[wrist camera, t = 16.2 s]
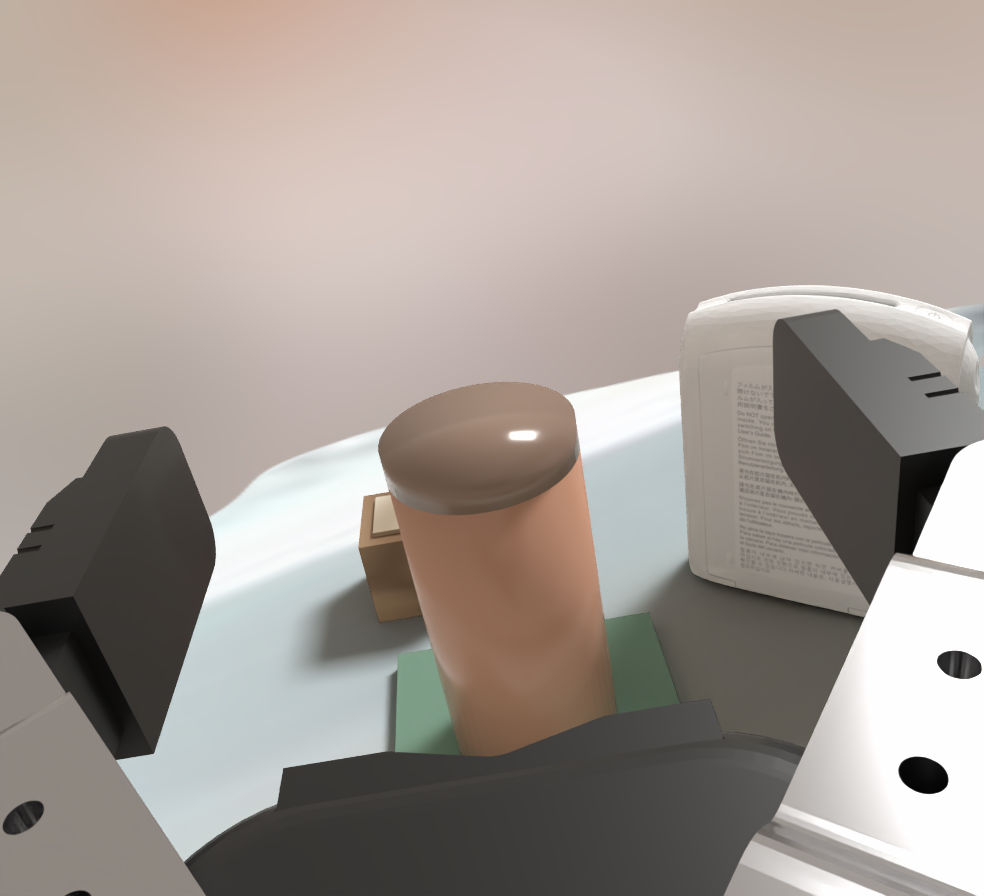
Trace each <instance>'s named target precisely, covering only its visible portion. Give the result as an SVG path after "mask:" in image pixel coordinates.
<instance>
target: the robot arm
mask: <svg viewBox="0 0 984 896" xmlns="http://www.w3.org/2000/svg"><path fill="white" fill-rule="evenodd" d="M773 403H774V434H775V441H776V446H777V450H778V454H779V457H780V460H781V463H782V466H783V468H784V470H785V472H786V473H787V475H788V477H789V478H790V480H791V481H792V483H793V484H794V486H795V488H796V489H797V491H798V492H799V494H800V496H801V497H802V499H803V500H804V502H805V504H806V505H807V507H808V508H809V510H810V511H811V513H812V515H813V516H814V518H815V519H816V521H817V523H818V524H819V526H820V527H821V529H822V531H823V532H824V534H825V535H826V537H827V538H828V540H829V542H830V543H831V545H832V546H833V548H834V550H835V551H836V553H837V554H838V556H839V558H840V559H841V561H842V562H843V564H844V565H845V567H846V569H847V570H848V572H849V573H850V575H851V577H852V578H853V580H854V581H855V583H856V585H857V586H858V588H859V589H860V591H861V592H862V594H863V596H864V597H865V599H866V600H867V602H868V604H869V605H870V607H869V609H868V612H867V614H866V616H865V618H864V621H863V623H862V625H861V627H860V629H859V632H858V634H857V636H856V638H855V641H854V643H853V645H852V647H851V649H850V652H849V654H848V656H847V658H846V661H845V663H844V665H843V667H842V669H841V672H840V674H839V676H838V678H837V681H836V683H835V685H834V687H833V689H832V692H831V694H830V696H829V698H828V701H827V703H826V705H825V707H824V709H823V712H822V714H821V716H820V718H819V721H818V723H817V725H816V727H815V729H814V732H813V734H812V736H811V738H810V741H809V743H808V745H807V747H806V748H803V747H800V746H798V745H795V744H792V743H788V742H784V741H780V740H776V739H772V738H768V737H764V736H758V735H752V734H745V733H739V732H723V731H721V729H720V726H719V723H718V720H717V717H716V714H715V712H714V709H713V706H712V703H711V700H710V699H704V700H698V701H692V702H686V703H680V704H674V705H668V706H662V707H656V708H650V709H643V710H637V711H631V712H625V713H619V714H613V715H607V716H603V717H600V718H597V719H595V720H592V721H590V722H587V723H584V724H582V725H579V726H577V727H574V728H571V729H569V730H566V731H564V732H561V733H558V734H556V735H553V736H551V737H548V738H545V739H543V740H540V741H537V742H535V743H532V744H530V745H527V746H524V747H522V748H519V749H517V750H514V751H511V752H509V753H506V754H503V755H498V756H486V757H485V756H465V755H446V754H426V753H407V752H381V753H375V754H368V755H362V756H356V757H350V758H344V759H338V760H332V761H326V762H320V763H313V764H307V765H301V766H295V767H289V768H283V774H282V780H281V786H280V792H279V798H278V804H277V805H274V806H272V807H269V808H267V809H264V810H262V811H260V812H258V813H256V814H254V815H252V816H250V817H248V818H246V819H244V820H242V821H240V822H239V823H237V824H235V825H234V826H232V827H231V828H229V829H227V830H226V831H224V832H222V833H221V834H219V835H218V836H216V837H215V838H214V839H212V840H211V841H210V842H208V843H207V844H205V845H204V846H203V847H201V848H200V849H199V850H197V851H196V852H195V853H194V854H193V855H191V856H190V857H189V858H188V859H187V860H186V861H185V862H183V860H182V859H181V857H180V856H179V854H178V853H177V851H176V850H175V848H174V847H173V845H172V844H171V842H170V841H169V839H168V838H167V836H166V835H165V833H164V832H163V830H162V829H161V827H160V826H159V824H158V823H157V821H156V820H155V818H154V817H153V815H152V814H151V812H150V811H149V809H148V808H147V806H146V805H145V803H144V802H143V800H142V799H141V797H140V796H139V794H138V793H137V791H136V790H135V788H134V787H133V785H132V784H131V782H130V781H129V779H128V778H127V776H126V775H125V773H124V772H123V770H122V769H121V767H120V766H119V764H118V763H117V761H116V760H119V759H125V758H131V757H137V756H143V755H149V754H154V752H155V749H156V746H157V742H158V739H159V736H160V733H161V730H162V727H163V724H164V721H165V718H166V715H167V712H168V709H169V705H170V702H171V699H172V696H173V693H174V690H175V687H176V684H177V681H178V678H179V675H180V672H181V668H182V665H183V662H184V659H185V656H186V653H187V650H188V647H189V644H190V641H191V638H192V634H193V631H194V628H195V625H196V622H197V619H198V616H199V613H200V610H201V607H202V604H203V601H204V597H205V594H206V591H207V588H208V585H209V582H210V579H211V576H212V573H213V570H214V566H215V558H216V548H215V538H214V533H213V529H212V525H211V522H210V519H209V517H208V514H207V511H206V509H205V506H204V504H203V502H202V499H201V496H200V494H199V491H198V489H197V486H196V484H195V481H194V479H193V476H192V473H191V471H190V468H189V466H188V463H187V461H186V458H185V456H184V453H183V451H182V448H181V446H180V443H179V441H178V439H177V437H176V436H175V434H174V433H173V431H172V430H171V429H169V428H168V427H165V426H164V427H159V428H154V429H147V430H142V431H136V432H131V433H125V434H119V435H114V436H109V437H108V438H107V439H106V440H105V442H104V443H103V445H102V446H101V448H100V450H99V452H98V453H97V455H96V456H95V458H94V460H93V461H92V463H91V465H90V466H89V468H88V470H87V471H86V473H85V475H84V476H83V477H82V478H77V479H75V480H74V481H72V482H71V483H70V484H69V485H68V486H67V487H65V488H64V489H63V490H62V491H61V492H60V493H58V494H57V495H56V496H55V497H54V498H52V499H51V500H50V501H49V502H47V503H46V505H45V507H44V508H43V510H42V511H41V513H40V514H39V516H38V517H37V519H36V521H35V522H34V524H33V525H32V527H31V533H28V534H27V535H26V536H25V538H24V539H23V541H22V543H21V544H20V546H19V547H18V549H17V550H18V554H15V555H13V557H12V558H11V560H10V561H9V563H8V565H7V566H6V568H5V569H4V571H3V572H2V574H1V575H0V896H984V411H983V410H982V409H981V408H980V407H979V406H978V405H977V404H976V403H974V402H973V401H972V400H971V399H970V398H969V397H968V396H967V395H966V394H965V393H963V392H960V393H959V390H958V387H957V386H956V385H955V384H954V383H952V382H951V381H950V380H949V379H948V378H947V377H946V376H941V372H940V371H939V370H938V369H937V368H936V367H935V366H934V365H933V364H932V363H931V362H929V361H928V360H927V359H926V358H925V357H924V356H923V355H922V354H921V353H920V352H918V351H915V350H913V349H910V348H908V347H905V346H903V345H900V344H898V343H895V342H893V341H890V340H888V339H885V338H882V339H876V340H869V339H868V338H867V337H866V336H865V335H864V334H863V333H862V332H861V331H860V330H859V329H858V328H857V327H856V326H855V325H854V324H853V323H852V322H851V321H850V320H849V319H848V318H847V317H846V316H845V315H844V314H843V313H842V312H840V311H839V310H837V309H833V310H827V311H821V312H816V313H810V314H805V315H799V316H793V317H788V318H782V319H778V320H777V321H776V323H775V326H774V330H773Z"/></svg>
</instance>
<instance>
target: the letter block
mask: <svg viewBox="0 0 984 896" xmlns="http://www.w3.org/2000/svg"><path fill="white" fill-rule="evenodd" d="M359 552H360V555H361V559H362V563H363V566H364V570H365V573H366V577H367V581H368V584H369V588H370V591H371V595H372V598H373V602H374V606H375V609H376V613H377V616H378V620H379V623H380V622H386V621H392V620H398V619H404V618H410V617H416V616H422V611H421V607H420V604H419V600H418V596H417V593H416V589H415V585H414V581H413V578H412V574H411V570H410V567H409V563H408V559H407V556H406V552H405V548H404V544H403V541H402V537H401V533H400V530H399V526H398V522H397V519H396V515H395V511H394V507H393V504H392V500H391V496H390V493H389V492H387V493H381V494H375V495H369V496H364V500H363V510H362V519H361V529H360V538H359Z"/></svg>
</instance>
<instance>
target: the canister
mask: <svg viewBox="0 0 984 896" xmlns="http://www.w3.org/2000/svg"><path fill="white" fill-rule="evenodd" d="M378 452H379V456H380V459H381V463H382V467H383V470H384V474H385V478H386V482H387V485H388V489H389V493H390V496H391V500H392V504H393V507H394V511H395V515H396V519H397V522H398V526H399V530H400V533H401V537H402V541H403V544H404V548H405V552H406V556H407V559H408V563H409V567H410V570H411V574H412V578H413V581H414V585H415V589H416V593H417V596H418V600H419V604H420V607H421V611H422V615H423V618H424V622H425V626H426V630H427V633H428V637H429V641H430V644H431V648H432V652H433V655H434V659H435V663H436V666H437V670H438V674H439V678H440V681H441V685H442V689H443V692H444V696H445V700H446V703H447V707H448V711H449V715H450V718H451V722H452V726H453V729H454V733H455V737H456V740H457V744H458V748H459V751H460V755H465V756H485V757H486V756H498V755H503V754H506V753H509V752H511V751H514V750H517V749H519V748H522V747H524V746H527V745H530V744H532V743H535V742H537V741H540V740H543V739H545V738H548V737H551V736H553V735H556V734H558V733H561V732H564V731H566V730H569V729H571V728H574V727H577V726H579V725H582V724H584V723H587V722H590V721H592V720H595V719H597V718H600V717H603V716H607V715H613V714H618V709H617V703H616V696H615V689H614V682H613V675H612V668H611V661H610V654H609V647H608V640H607V633H606V626H605V619H604V613H603V606H602V599H601V592H600V585H599V578H598V571H597V564H596V557H595V550H594V543H593V536H592V530H591V523H590V516H589V509H588V502H587V495H586V488H585V481H584V474H583V467H582V460H581V453H580V446H579V440H578V433H577V426H576V419H575V412H574V409H573V407H572V405H571V403H570V402H569V401H568V400H567V399H566V398H565V397H564V396H563V395H561V394H559V393H558V392H556V391H553V390H551V389H549V388H546V387H542V386H538V385H534V384H528V383H519V382H495V383H484V384H477V385H471V386H466V387H462V388H458V389H454V390H450V391H447V392H444V393H441V394H438V395H435V396H433V397H430V398H428V399H426V400H424V401H422V402H420V403H418V404H416V405H414V406H412V407H411V408H409V409H407V410H406V411H405V412H403V413H402V414H400V415H399V416H398V417H397V418H395V419H394V420H393V421H392V422H391V423H390V424H389V425H388V426H387V428H386V429H385V431H384V432H383V434H382V436H381V438H380V441H379V445H378Z"/></svg>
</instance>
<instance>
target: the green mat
mask: <svg viewBox="0 0 984 896" xmlns="http://www.w3.org/2000/svg"><path fill="white" fill-rule="evenodd" d="M605 626H606V633H607V640H608V647H609V654H610V661H611V668H612V675H613V682H614V689H615V696H616V703H617V709H618V714H619V713H625V712H631V711H637V710H643V709H650V708H656V707H662V706H668V705H674V704H680V702H679V699H678V696H677V693H676V691H675V688H674V685H673V682H672V679H671V676H670V673H669V670H668V667H667V664H666V661H665V658H664V655H663V653H662V650H661V647H660V644H659V641H658V638H657V635H656V632H655V629H654V626H653V623H652V620H651V617H650V615H649V612H647V613H641V614H635V615H629V616H623V617H617V618H612V619H606V620H605ZM395 752H407V753H426V754H446V755H460V751H459V748H458V744H457V740H456V737H455V733H454V729H453V726H452V722H451V718H450V715H449V711H448V707H447V703H446V700H445V696H444V692H443V689H442V685H441V681H440V678H439V674H438V670H437V666H436V663H435V659H434V655H433V652H432V649H429V650H423V651H417V652H411V653H405V654H399V655H398V669H397V703H396V737H395Z"/></svg>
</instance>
